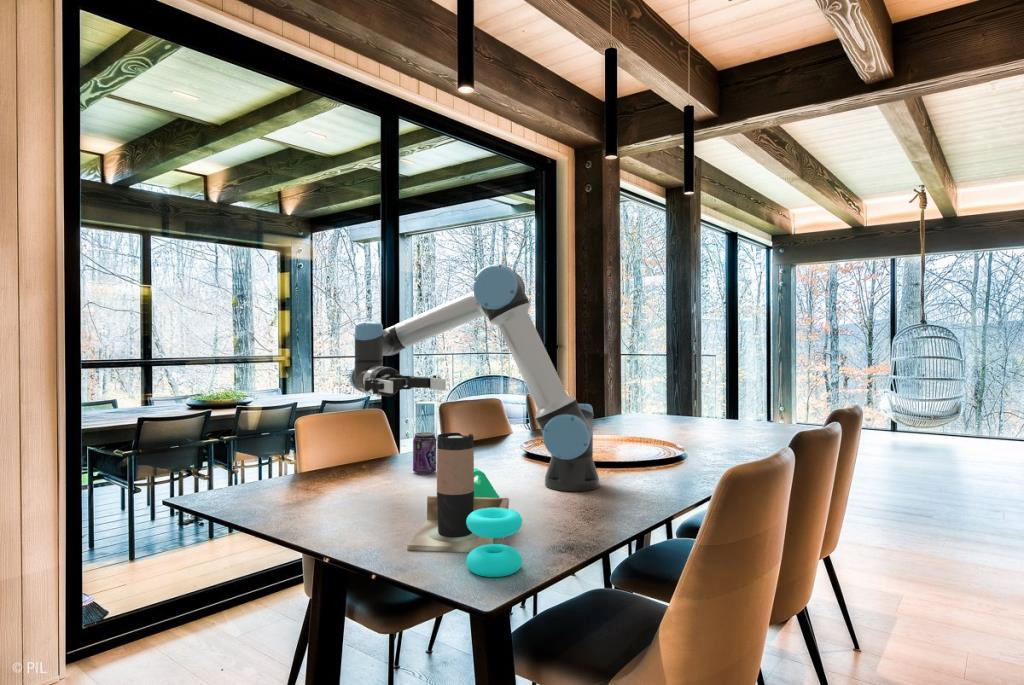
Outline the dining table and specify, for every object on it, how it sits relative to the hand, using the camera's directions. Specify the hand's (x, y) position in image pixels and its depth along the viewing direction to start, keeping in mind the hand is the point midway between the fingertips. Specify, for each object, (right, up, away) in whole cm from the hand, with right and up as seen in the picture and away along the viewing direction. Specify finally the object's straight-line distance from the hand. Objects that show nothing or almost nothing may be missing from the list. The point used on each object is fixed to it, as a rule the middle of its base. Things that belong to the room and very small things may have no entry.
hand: (418, 386), depth 144 cm
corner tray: (+11, -30, -16) cm, 36 cm away
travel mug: (+10, -29, -17) cm, 35 cm away
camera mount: (+12, -30, +4) cm, 33 cm away
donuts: (+19, -30, -34) cm, 49 cm away
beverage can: (-5, -30, +45) cm, 55 cm away
